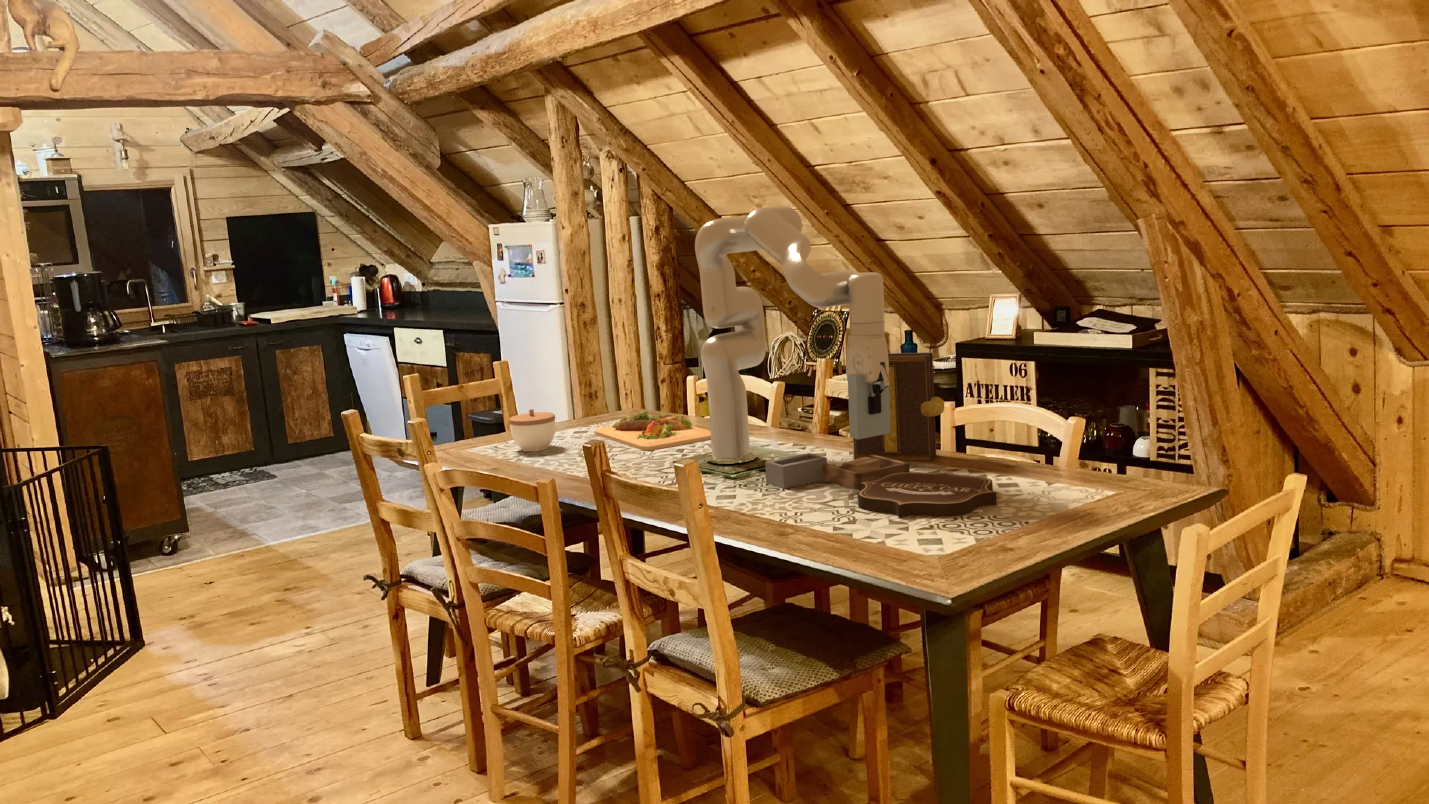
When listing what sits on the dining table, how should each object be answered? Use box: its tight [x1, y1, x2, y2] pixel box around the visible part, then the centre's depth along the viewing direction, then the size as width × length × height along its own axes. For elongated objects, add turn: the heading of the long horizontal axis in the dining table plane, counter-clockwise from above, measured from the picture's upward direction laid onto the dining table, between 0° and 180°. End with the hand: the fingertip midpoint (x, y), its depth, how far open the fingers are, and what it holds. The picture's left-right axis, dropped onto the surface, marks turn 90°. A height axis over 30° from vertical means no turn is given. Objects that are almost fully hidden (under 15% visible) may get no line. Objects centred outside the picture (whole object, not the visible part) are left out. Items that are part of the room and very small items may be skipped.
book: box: [852, 352, 945, 462], centre depth 278 cm, size 22×8×25 cm, turn 71°
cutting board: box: [594, 410, 711, 451], centre depth 328 cm, size 35×23×8 cm
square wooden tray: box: [823, 455, 911, 491], centre depth 261 cm, size 13×14×4 cm
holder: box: [764, 452, 828, 489], centre depth 263 cm, size 7×12×5 cm, turn 120°
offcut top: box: [841, 457, 880, 473], centre depth 262 cm, size 5×7×2 cm, turn 126°
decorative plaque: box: [857, 470, 998, 519], centre depth 240 cm, size 30×3×30 cm
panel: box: [847, 374, 891, 439], centre depth 256 cm, size 3×9×14 cm, turn 120°
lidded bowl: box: [508, 409, 556, 452], centre depth 320 cm, size 13×13×11 cm
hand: (869, 411), depth 256 cm, fingers closed on panel, 3 cm apart
